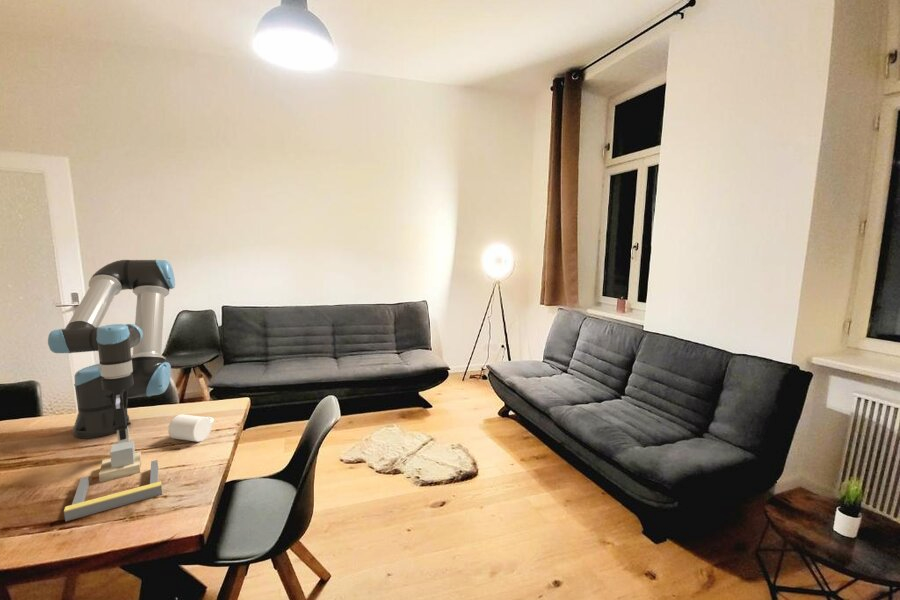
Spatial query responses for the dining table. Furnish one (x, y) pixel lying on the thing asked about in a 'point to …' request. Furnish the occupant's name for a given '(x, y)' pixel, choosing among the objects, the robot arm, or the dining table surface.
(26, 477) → the dining table surface
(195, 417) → the mug
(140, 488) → the dock
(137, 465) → the pallet
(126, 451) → the light grey cube
